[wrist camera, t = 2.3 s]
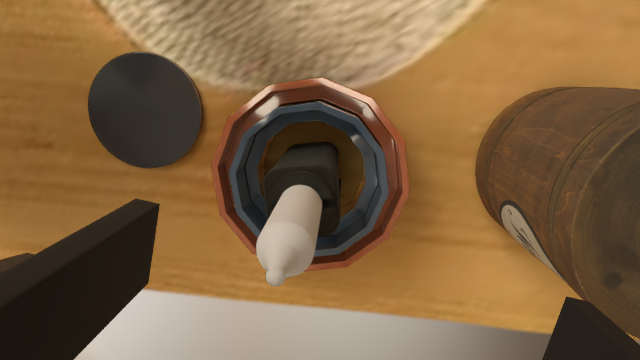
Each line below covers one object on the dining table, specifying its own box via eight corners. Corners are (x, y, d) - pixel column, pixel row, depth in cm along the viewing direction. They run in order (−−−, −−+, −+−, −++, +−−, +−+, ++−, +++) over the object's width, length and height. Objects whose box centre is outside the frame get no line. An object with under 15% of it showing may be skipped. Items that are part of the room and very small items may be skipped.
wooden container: (456, 224, 43) (571, 363, 22) (499, 72, 40) (683, 58, 18) (604, 254, 43) (867, 424, 21) (659, 104, 40) (1033, 128, 18)
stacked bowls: (205, 212, 44) (182, 233, 38) (263, 52, 40) (248, 46, 34) (358, 274, 45) (361, 305, 38) (429, 121, 41) (445, 128, 35)
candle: (341, 192, 43) (340, 332, 18) (290, 196, 43) (222, 339, 19) (337, 140, 42) (329, 217, 17) (284, 145, 42) (205, 226, 18)
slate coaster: (78, 141, 43) (74, 142, 43) (108, 33, 41) (105, 32, 40) (182, 184, 44) (180, 185, 43) (218, 79, 41) (216, 79, 41)
